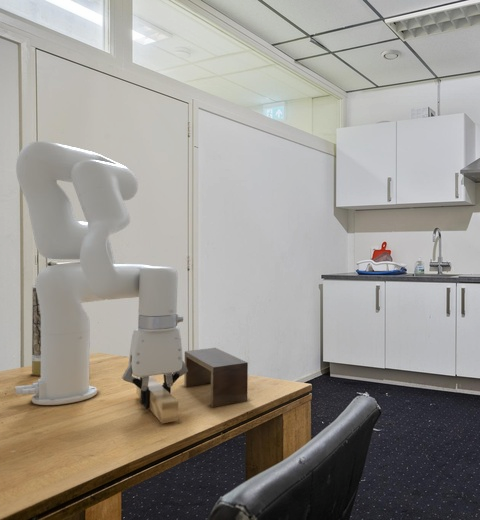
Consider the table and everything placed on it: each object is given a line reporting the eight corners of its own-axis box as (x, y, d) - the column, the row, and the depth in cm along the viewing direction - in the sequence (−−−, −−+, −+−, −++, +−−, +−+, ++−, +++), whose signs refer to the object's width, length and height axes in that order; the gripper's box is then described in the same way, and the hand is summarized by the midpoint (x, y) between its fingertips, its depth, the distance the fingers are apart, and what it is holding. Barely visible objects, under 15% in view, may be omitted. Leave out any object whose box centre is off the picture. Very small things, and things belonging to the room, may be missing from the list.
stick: (177, 420, 94) (178, 401, 94) (161, 423, 92) (162, 403, 92) (150, 391, 113) (150, 374, 113) (136, 393, 111) (136, 376, 111)
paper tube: (45, 377, 128) (46, 286, 128) (25, 375, 129) (26, 285, 129) (67, 371, 135) (68, 284, 134) (48, 369, 136) (48, 284, 136)
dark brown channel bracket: (212, 407, 104) (213, 367, 104) (184, 385, 121) (184, 351, 121) (247, 400, 109) (247, 362, 109) (215, 380, 126) (215, 347, 126)
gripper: (191, 318, 110) (189, 395, 111) (111, 322, 100) (109, 407, 100) (201, 322, 105) (199, 403, 105) (118, 327, 94) (115, 418, 95)
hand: (155, 404), depth 103 cm, fingers closed on stick, 3 cm apart
